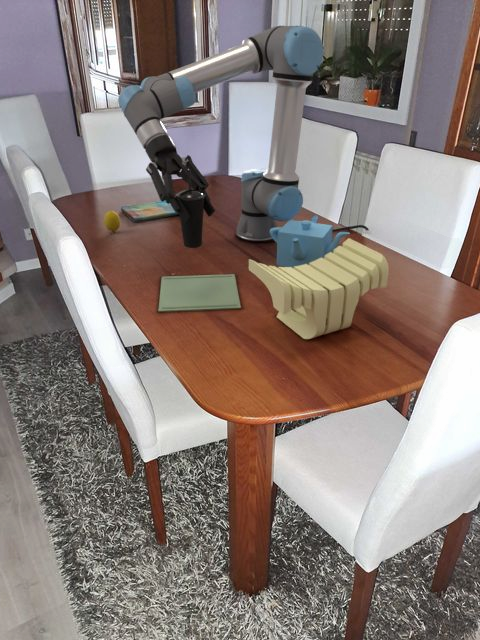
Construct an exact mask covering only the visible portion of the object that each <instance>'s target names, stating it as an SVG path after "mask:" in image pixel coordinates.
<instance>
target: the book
mask: <svg viewBox="0 0 480 640" xmlns="http://www.w3.org/2000/svg"><path fill="white" fill-rule="evenodd" d="M120 211H121V212H122V213H124V215H126V217H128V218H129V219H130V220H131V221H133V222H134V223H139V222H146V221H151V220H156V219H162V218H168V217H174V216H179V214H178V212H175V211H174V209H173V207H172V206H171V204H167V203H166V201H165V200H164V201H161V200H159V201H150V202H149V201H148V202H145V203H136V204H135V203H134V204H130V205H122V206H121V207H120Z"/></svg>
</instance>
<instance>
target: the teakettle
mask: <svg viewBox="0 0 480 640" xmlns="http://www.w3.org/2000/svg"><path fill="white" fill-rule="evenodd" d="M318 219H319V215H318V214H317V215H313V217H312V218H311V220H306V219H305V220H293V219H290V220H288V221H286V223H285V224H284V225H283V226H278V227H274V228H272V229H270V235H271V237H272V238H273V241H274V242H275V243H276V262H275V263H276V266H278V267H292V268H293V269H294V266H300V265H304V264H307V265H309V263H310V262H312V261H315V260H317V259H319V258H321V257H322V258H323V259H324V256H325V255H326V254H328V253H330V252H332V253H333V250H334V249H335V248H337V247H338V246H339V243H340V242H341V240H342V239H343V238H344V237H345V236H347V235H350V234H351V232H349V231H338V233H336V235H335V236H334V238H333V232H332V230H333V229H334V225H332V224H326V223H325V224H324V223H318ZM277 232H278V235H277ZM332 239H333V241H332Z"/></svg>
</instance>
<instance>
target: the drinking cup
mask: <svg viewBox="0 0 480 640" xmlns="http://www.w3.org/2000/svg"><path fill="white" fill-rule="evenodd" d="M188 184H189V185H188ZM188 184H187V185H188V189H184V190H181V191H179V192H177V193H176V194H175V197H176V196H179V198H180V200H181V201H182V203H183V205H184V207H185V208H186V210H187V212H188V214H189V215H190V217H191V218H190V219H189V221H188V222H187V223H185V224H184V223H183V221H182V219H181V217H180V216H179V222H180V227H181V234H182V240H183V241H182V242H183V246H184V247H185V248H189V249H196V248H200V247H202V245H203V229H204V228H203V227H204V198H205V194H204V193H202V192H200V191H197V190H194V189H193V188H192V187H191V171H190V169H189V170H188Z"/></svg>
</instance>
